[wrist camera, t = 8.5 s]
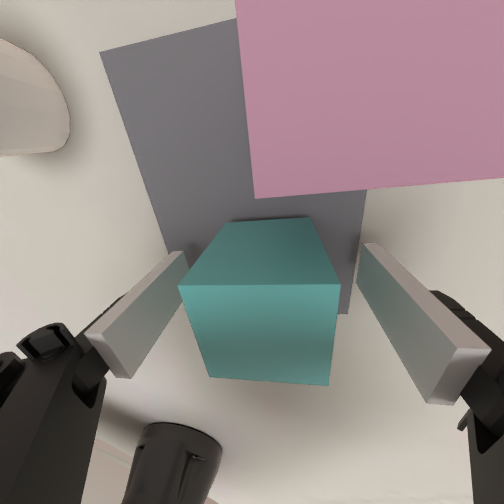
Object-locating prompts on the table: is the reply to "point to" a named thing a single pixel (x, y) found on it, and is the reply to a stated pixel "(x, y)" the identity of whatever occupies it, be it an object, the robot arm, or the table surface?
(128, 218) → the table surface
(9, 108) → the white cup
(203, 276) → the teal rectangular prism
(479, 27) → the stand
